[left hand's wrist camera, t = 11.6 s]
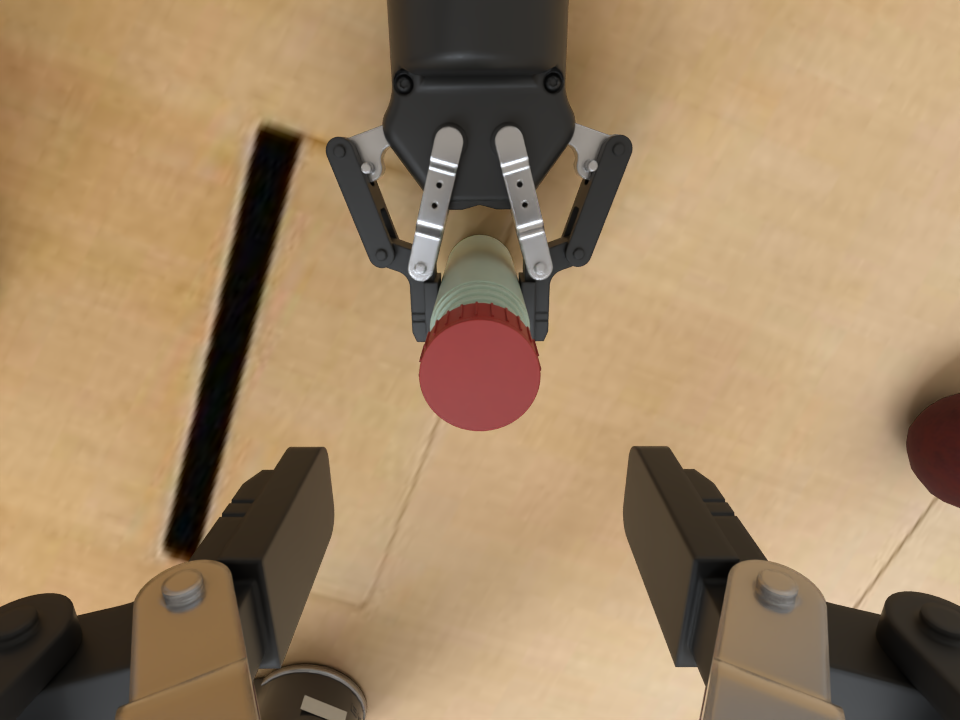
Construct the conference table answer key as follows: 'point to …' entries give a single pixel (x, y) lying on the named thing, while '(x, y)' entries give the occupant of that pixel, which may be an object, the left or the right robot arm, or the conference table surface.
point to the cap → (479, 367)
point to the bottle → (480, 278)
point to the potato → (937, 449)
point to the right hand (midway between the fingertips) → (481, 346)
